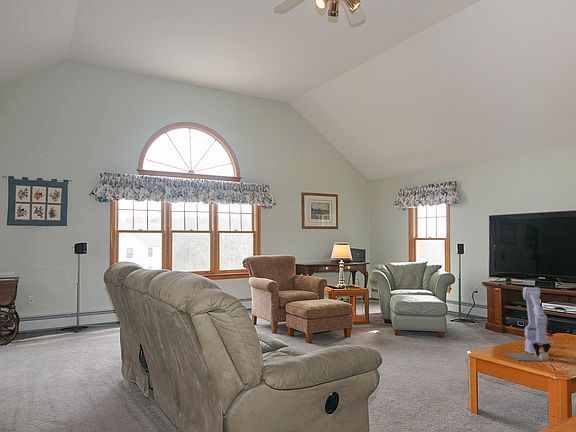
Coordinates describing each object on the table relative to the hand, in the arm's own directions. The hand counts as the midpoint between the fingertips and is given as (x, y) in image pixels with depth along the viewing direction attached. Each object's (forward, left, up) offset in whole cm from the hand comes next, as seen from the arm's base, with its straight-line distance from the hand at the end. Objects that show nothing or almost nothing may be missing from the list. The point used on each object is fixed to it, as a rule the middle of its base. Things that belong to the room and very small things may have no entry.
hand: (541, 355), depth 294 cm
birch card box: (0, 0, -2) cm, 2 cm away
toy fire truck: (-35, +21, -2) cm, 41 cm away
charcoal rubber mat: (0, -12, -2) cm, 12 cm away
